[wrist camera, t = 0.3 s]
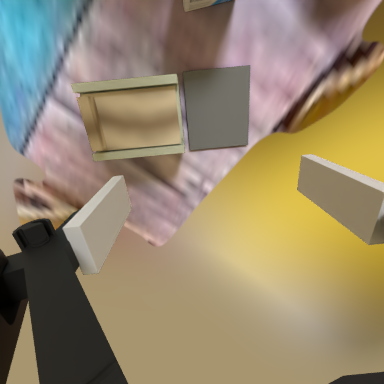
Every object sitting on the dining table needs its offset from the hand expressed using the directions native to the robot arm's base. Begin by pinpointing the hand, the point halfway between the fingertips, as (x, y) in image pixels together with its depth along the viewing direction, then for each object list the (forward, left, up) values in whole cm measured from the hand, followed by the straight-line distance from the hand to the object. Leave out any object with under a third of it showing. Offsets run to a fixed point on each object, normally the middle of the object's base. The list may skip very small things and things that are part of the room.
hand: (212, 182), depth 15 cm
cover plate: (-4, -10, -23) cm, 25 cm away
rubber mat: (-4, +5, -28) cm, 28 cm away
